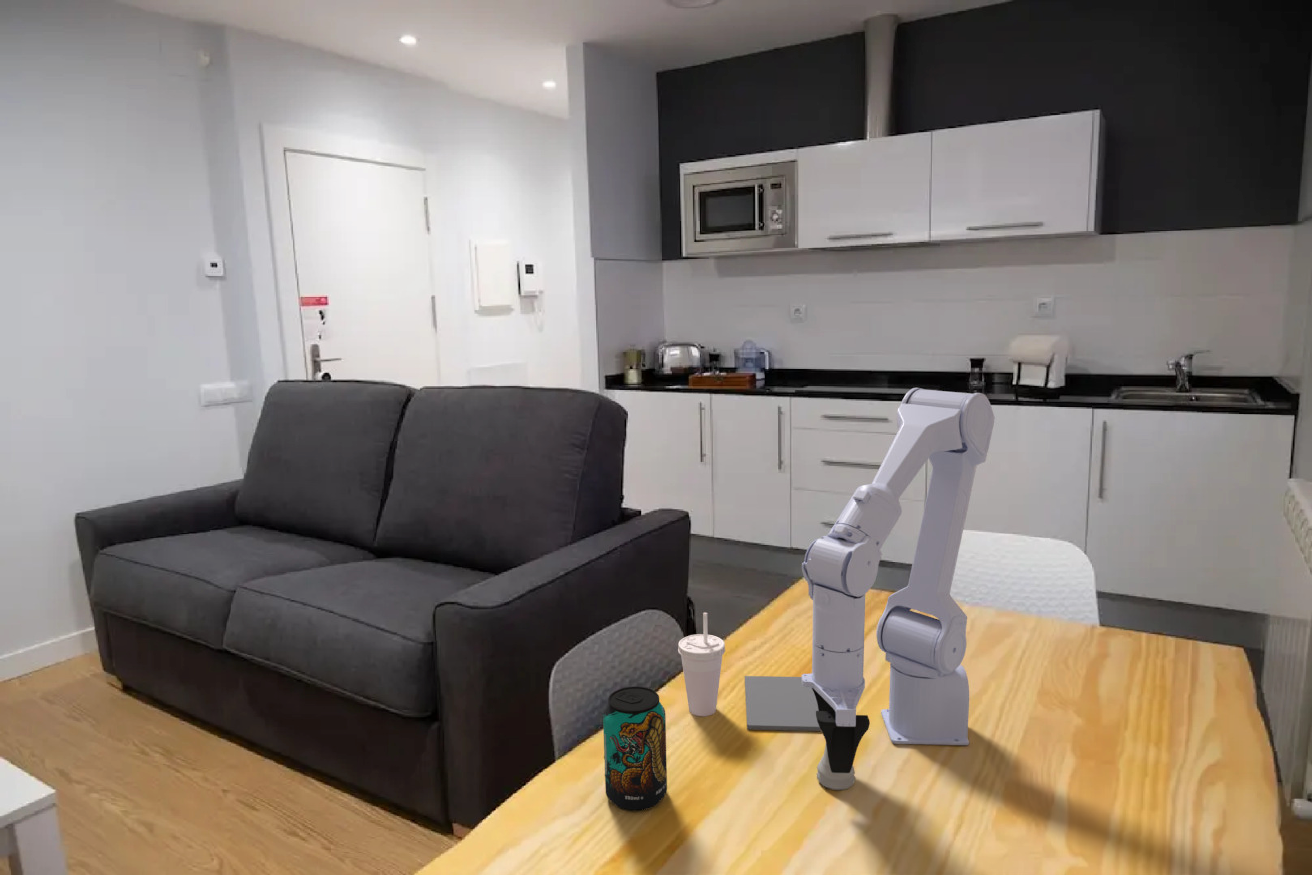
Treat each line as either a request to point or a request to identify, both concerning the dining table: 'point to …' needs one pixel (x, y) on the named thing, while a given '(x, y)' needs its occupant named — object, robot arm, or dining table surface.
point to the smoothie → (702, 670)
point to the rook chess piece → (833, 775)
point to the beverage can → (635, 749)
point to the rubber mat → (780, 704)
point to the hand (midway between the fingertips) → (835, 752)
